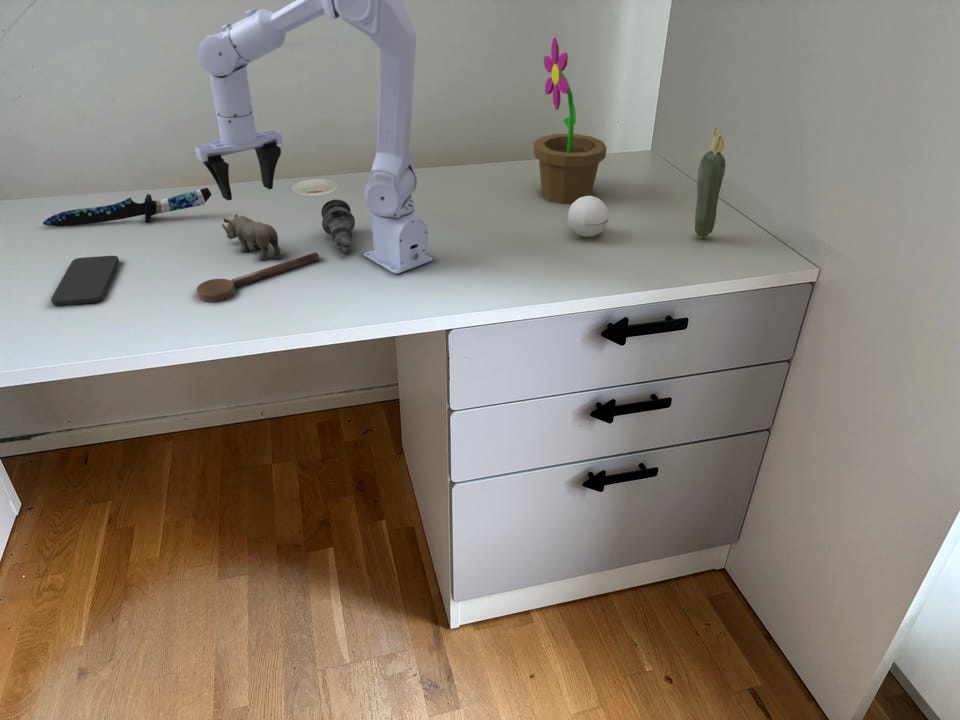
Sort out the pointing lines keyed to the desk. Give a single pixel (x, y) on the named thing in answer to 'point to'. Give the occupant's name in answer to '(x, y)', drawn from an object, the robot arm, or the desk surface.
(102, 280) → the phone
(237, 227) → the rhino figurine
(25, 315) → the desk surface
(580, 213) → the white ball
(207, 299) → the brown long-handled part
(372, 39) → the robot arm
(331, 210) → the grey weathered turned ornament
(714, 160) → the vegetable
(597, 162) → the flowerpot
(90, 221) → the knife
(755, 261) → the desk surface
